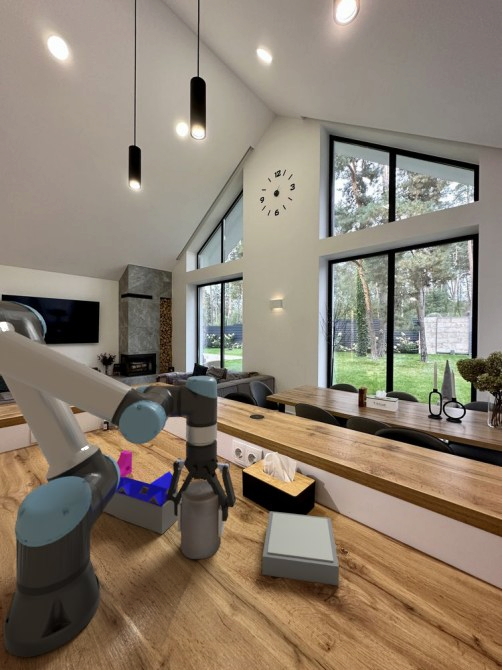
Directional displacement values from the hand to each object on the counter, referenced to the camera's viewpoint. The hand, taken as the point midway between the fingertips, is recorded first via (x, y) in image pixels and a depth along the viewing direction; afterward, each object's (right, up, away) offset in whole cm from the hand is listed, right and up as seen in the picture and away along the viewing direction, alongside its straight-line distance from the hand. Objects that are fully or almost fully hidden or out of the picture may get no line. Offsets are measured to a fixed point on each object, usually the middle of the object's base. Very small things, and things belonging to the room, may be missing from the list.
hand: (201, 530), depth 72 cm
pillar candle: (0, -4, 0) cm, 4 cm away
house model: (-19, -4, +16) cm, 25 cm away
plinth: (+24, -4, -2) cm, 24 cm away
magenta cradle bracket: (-36, -3, +30) cm, 47 cm away
